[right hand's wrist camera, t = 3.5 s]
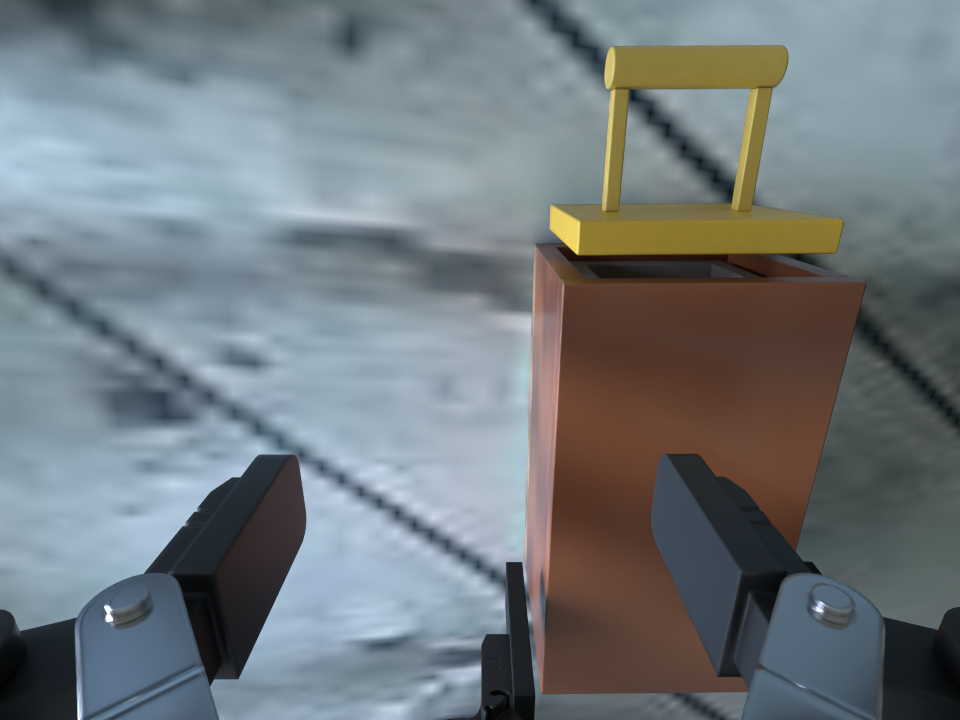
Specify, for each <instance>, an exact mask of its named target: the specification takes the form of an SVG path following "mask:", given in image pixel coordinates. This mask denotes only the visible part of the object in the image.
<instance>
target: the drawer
mask: <svg viewBox="0 0 960 720" xmlns="http://www.w3.org/2000/svg"><path fill="white" fill-rule="evenodd" d="M787 65H788V51H787V48H786V47H784V46H782V45H740V46H613V47H611V48H610V50H609V52H608V55H607V59H606V65H605V85H606V88H607V89H614V90H612V91H611V95H610V108H609V121H608V134H607V148H606V161H605V174H604V187H603V200H602V204H561V205H551V211H550V230H551V231H552V232H553V233H554V234H555V235H556V236H558V237H559V238H560V239H561V240H562V241H563V242H564V243H565V244H566V245H567V246H568V247H569V248H570V249H571V250H573V251H574V252H575V253H576V254H577V255H705V254H834V253H836V252H837V250H838V246H839V242H840V237H841V233H842V229H843V225H844V220H843V219H838V218H832V217H825V216H819V215H813V214H807V213H800V212H794V211H788V210H782V209H775V208H769V207H763V206H757V205H752V204H753V198H754V192H755V187H756V181H757V175H758V169H759V164H760V158H761V152H762V147H763V141H764V135H765V130H766V124H767V118H768V113H769V107H770V101H771V95H772V90H773V88H774V87H776V86H778V85H779V83H780V82H781V81H782V79H783V77H784V75H785V72H786V69H787ZM629 89H752V90H750V95H749V101H748V107H747V114H746V120H745V126H744V132H743V138H742V144H741V151H740V157H739V163H738V169H737V175H736V181H735V188H734V194H733V200H732V203H720V204H620V193H621V182H622V170H623V159H624V147H625V136H626V124H627V113H628V102H629ZM570 263H571V264H572V265H573V266H574V267H575V268H576V270H577V271H578V272H579V273H580V274H581V275H582V276H583V277H584V278H585V279H597V278H743V277H760V276H757V275H755V274H752V273H750V272H747V271H745V270H742V269H740V268H738V267H735V266H733V265H730V264H728V263H725V262H722V261H576V262H570Z"/></svg>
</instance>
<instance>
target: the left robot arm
mask: <svg viewBox="0 0 960 720" xmlns="http://www.w3.org/2000/svg"><path fill="white" fill-rule="evenodd" d="M804 563H805V564H806V565H807V567H808V568H809V569H810V570H811V572H812V573H813V574H819V575H822V574H821V573H820V571H819V570H818V569H817V568H816V566H815V565H814V564H813V563H812V562H804ZM505 606H506V625H507V634H486V636H485V639H484V641H483V643H482V701H481V707H480V710H479V712H478V713H477V714H476V716H475V717H473V718H472V719H449V720H534V711H535V689H534V679H533V669H532V658H531V648H530V638H529V628H528V617H527V607H526V597H525V587H524V576H523V566H522V562H506V604H505Z"/></svg>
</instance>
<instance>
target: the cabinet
mask: <svg viewBox="0 0 960 720" xmlns="http://www.w3.org/2000/svg"><path fill="white" fill-rule="evenodd" d="M576 261H722V262H725V263H728V264H730V265H733V266H735V267H738V268H740V269H742V270H745V271H747V272H750V273H752V274H755V275H757V276H760V277H743V278H597V279H585V278H584V277H583V276H582V275H581V274H580V273H579V272H578V271H577V270H576V268H575V267H574V266H573V265H572V264H571V263H570V262H576ZM865 287H866V282H864V281H861V280H857V279H854V278H851V277H848V276H845V275H842V274H839V273H836V272H832V271H829V270H826V269H823V268H819V267H816V266H813V265H810V264H807V263H803V262H800V261H797V260H794V259H791V258H787V257H784V256H781V255H778V254H705V255H577V254H576V253H575V252H574V251H573V250H571V249H570V248H569V247H568V246H567V245H566V244H534V271H533V303H532V334H531V366H530V398H529V429H528V461H527V492H526V524H525V556H524V558H525V566H526V572H527V580H528V589H529V597H530V605H531V613H532V621H533V630H534V638H535V646H536V654H537V663H538V671H539V679H540V687H541V693H542V694H600V693H700V692H749V690H748V688H747V686H746V684H745V682H744V680H743V678H742V677H717V674H716V672H715V670H714V668H713V666H712V664H711V661H710V659H709V657H708V655H707V653H706V651H705V649H704V646H703V644H702V642H701V640H700V638H699V636H698V633H697V631H696V629H695V627H694V625H693V623H692V620H691V618H690V616H689V614H688V612H687V610H686V607H685V605H684V603H683V601H682V599H681V597H680V594H679V592H678V590H677V588H676V586H675V584H674V581H673V579H672V577H671V575H670V573H669V571H668V568H667V566H666V564H665V562H664V560H663V558H662V555H661V553H660V551H659V549H658V547H657V545H656V542H655V540H654V536H653V532H652V525H651V511H652V504H653V497H654V490H655V483H656V476H657V469H658V462H659V459H660V457H661V455H662V454H699V455H700V456H701V457H702V458H703V460H704V461H705V462H706V464H707V465H708V466H709V468H710V469H711V470H712V472H713V473H714V474H715V476H716V477H726V478H728V479H729V480H731V481H732V482H734V483H735V484H737V485H738V486H740V487H741V488H743V489H744V490H746V491H747V493H748V494H749V495H750V496H751V498H752V499H753V500H754V501H755V503H756V504H757V505H758V506H759V510H760V511H763V512H764V514H765V515H766V516H767V517H768V519H769V520H770V521H771V525H774V526H775V527H776V528H777V530H778V531H779V532H780V533H781V535H782V536H783V537H784V538H785V540H786V541H787V542H788V543H789V545H790V546H791V547H792V548H793V549H794V551H796V547H797V543H798V539H799V536H800V532H801V528H802V524H803V521H804V517H805V513H806V509H807V506H808V502H809V498H810V494H811V490H812V487H813V483H814V479H815V475H816V472H817V468H818V464H819V460H820V457H821V453H822V449H823V445H824V441H825V438H826V434H827V430H828V426H829V423H830V419H831V415H832V411H833V408H834V404H835V400H836V396H837V393H838V389H839V385H840V381H841V377H842V374H843V370H844V366H845V362H846V359H847V355H848V351H849V347H850V344H851V340H852V336H853V332H854V329H855V325H856V321H857V317H858V313H859V310H860V306H861V302H862V298H863V295H864V291H865Z"/></svg>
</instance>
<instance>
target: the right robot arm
mask: <svg viewBox="0 0 960 720" xmlns="http://www.w3.org/2000/svg"><path fill="white" fill-rule="evenodd" d="M651 525H652V532H653V536H654V540H655V542H656V545H657V547H658V549H659V551H660V553H661V555H662V558H663V560H664V562H665V564H666V566H667V568H668V571H669V573H670V575H671V577H672V579H673V581H674V584H675V586H676V588H677V590H678V592H679V594H680V597H681V599H682V601H683V603H684V605H685V607H686V610H687V612H688V614H689V616H690V618H691V620H692V623H693V625H694V627H695V629H696V631H697V633H698V636H699V638H700V640H701V642H702V644H703V646H704V649H705V651H706V653H707V655H708V657H709V659H710V661H711V664H712V666H713V668H714V670H715V672H716V674H717V677H742V678H743V680H744V682H745V684H746V686H747V688H748V690H749V693H748V696H747V700H746V703H745V707H744V710H743V714H742V717H741V720H960V607H957V608H952V609H950V610H948V611H947V612H946V613H945V615H944V617H943V620H942V622H941V625H940V627H939V629H938V630H936V629H932V628H927V627H923V626H919V625H915V624H910V623H906V622H902V621H898V620H893V619H889V618H885V617H882V615H881V614H880V612H879V610H878V609H877V608H876V607H875V606H874V604H873V603H872V602H871V601H869V600H868V599H867V598H866V597H865V596H864V595H862V594H861V593H860V592H858V591H857V590H855V589H853V588H852V587H850V586H848V585H846V584H844V583H842V582H840V581H838V580H835V579H833V578H830V577H827V576H823V575H819V574H813V573H812V572H811V570H810V569H809V568H808V567H807V565H806V564H805V563H804V562H803V561H802V559H801V558H800V557H799V556H798V554H797V553H796V552H795V551H794V549H793V548H792V547H791V546H790V545H789V543H788V542H787V541H786V540H785V538H784V537H783V536H782V535H781V533H780V532H779V531H778V530H777V528H776V527H775V526H774V525H771V521H770V520H769V519H768V517H767V516H766V515H765V514H764V512H763V511H760V510H759V506H758V505H757V504H756V503H755V501H754V500H753V499H752V498H751V496H750V495H749V494H748V493H747V491H746V490H744V489H743V488H741V487H740V486H738V485H737V484H735V483H734V482H732V481H731V480H729V479H728V478H726V477H716V476H715V474H714V473H713V472H712V470H711V469H710V468H709V466H708V465H707V464H706V462H705V461H704V460H703V458H702V457H701V456H700V455H699V454H662V455H661V457H660V459H659V462H658V469H657V476H656V483H655V490H654V497H653V504H652V511H651ZM305 529H306V509H305V502H304V495H303V488H302V482H301V475H300V468H299V462H298V459H297V457H296V456H295V455H258V456H257V457H256V458H255V459H254V461H253V462H252V463H251V464H250V466H249V467H248V468H247V470H246V471H245V472H244V474H243V475H242V476H241V477H232V478H231V479H229V480H228V481H226V482H225V483H223V484H222V485H220V486H219V487H217V488H216V489H214V490H213V491H211V492H210V493H209V495H208V496H207V497H206V498H205V500H204V501H203V502H202V503H201V504H200V506H199V507H198V508H197V512H194V513H193V514H192V515H191V517H190V518H189V519H188V520H187V522H186V525H185V526H182V528H181V529H180V530H179V531H178V533H177V534H176V535H175V536H174V537H173V539H172V540H171V541H170V542H169V544H168V545H167V546H166V547H165V548H164V550H163V551H162V552H161V553H160V555H159V556H158V557H157V558H156V559H155V561H154V562H153V563H152V564H151V566H150V567H149V568H148V569H147V570H146V572H145V573H144V574H141V575H137V576H133V577H130V578H127V579H124V580H122V581H120V582H118V583H116V584H114V585H112V586H110V587H108V588H107V589H105V590H103V591H102V592H100V593H99V594H98V595H96V596H95V597H94V598H93V599H92V600H91V601H89V602H88V603H87V604H86V606H85V607H84V608H83V609H82V610H81V612H80V614H79V615H78V617H77V618H74V619H70V620H66V621H62V622H57V623H53V624H49V625H45V626H41V627H36V628H32V629H28V630H24V631H19V629H18V627H17V624H16V622H15V619H14V617H13V615H12V614H11V613H10V612H8V611H6V610H1V609H0V720H219V717H218V714H217V710H216V707H215V703H214V700H213V696H212V693H211V689H210V686H211V684H212V682H213V680H214V679H239V677H240V675H241V673H242V670H243V668H244V666H245V664H246V662H247V660H248V658H249V655H250V653H251V651H252V649H253V647H254V645H255V643H256V640H257V638H258V636H259V634H260V632H261V630H262V628H263V625H264V623H265V621H266V619H267V617H268V615H269V613H270V611H271V608H272V606H273V604H274V602H275V600H276V598H277V596H278V593H279V591H280V589H281V587H282V585H283V583H284V581H285V578H286V576H287V574H288V572H289V570H290V568H291V566H292V563H293V561H294V559H295V557H296V555H297V553H298V551H299V549H300V546H301V544H302V542H303V539H304V535H305Z"/></svg>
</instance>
